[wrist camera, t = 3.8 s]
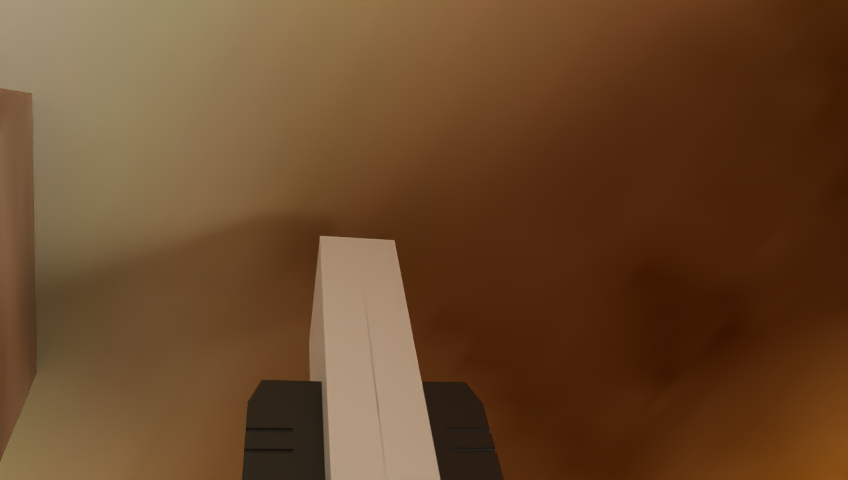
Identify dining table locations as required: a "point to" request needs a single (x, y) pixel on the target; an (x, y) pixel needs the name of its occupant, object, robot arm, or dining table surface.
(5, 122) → the walnut block
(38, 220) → the dining table surface
